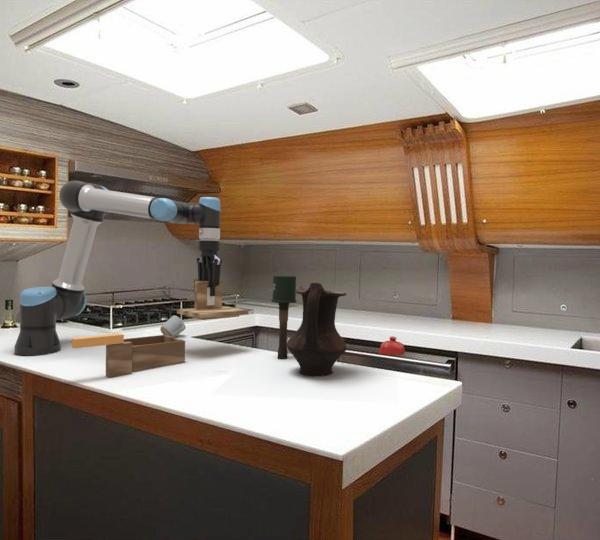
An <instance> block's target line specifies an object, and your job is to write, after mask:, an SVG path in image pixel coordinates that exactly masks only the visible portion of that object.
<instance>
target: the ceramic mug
mask: <svg viewBox="0 0 600 540" xmlns="http://www.w3.org/2000/svg"><path fill="white" fill-rule="evenodd" d="M186 328H187V327H186V324H185V322H184V321H183V320H182V319H181V318H180V317H179V316H177V315H172V316H170V317H169V319H167V320H166V321H165V322H164V323H163V324H162V325H161V326H160V332H161V333H162V334H161V335H167V336H171V337H174V338H177V336H178V335H180V334H181V333H182V332H184V331H185V330H186Z"/></svg>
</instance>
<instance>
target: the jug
mask: <svg viewBox="0 0 600 540" xmlns="http://www.w3.org/2000/svg"><path fill="white" fill-rule="evenodd" d="M295 292H296V294H299V295H301V298H302V320H301V324H300V325H299V328H297V330H296V331H295V332H294V333H293V334H292V336H290V338H289V340H287V351H288V352H290V353H291V355H292V356H293V358H294V359H295V360H296V362H297V363H298V366H300V368H299V369H300V370H299V371H298V373H299V374H300V375H302V376H304V377H305V376H306V377H310V378H316V377H317V378H319V377H320V378H321V377H329V376H331V375H332V374H333V373H334V372H333V366H334V365H335V363H336V362H337V361H338V360H339V358H340V357H341V356H343V354H344V353H346V351H347V344H346V342H345V341H344V338H343V337H342V336H341V335H340V333H339V332H338V330H337V328H336V322H335V321H336V313H337V312H336V311H337V306H338V303H339V302H338V301H339V298H340V297H344V296H347V292H343V291H342V292H340V291H331V290H325V288H324V286H323V285H322V284H321V282H318V281H312V282H311V283H310V284H309V287H308V288H296V290H295Z"/></svg>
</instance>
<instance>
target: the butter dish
mask: <svg viewBox="0 0 600 540" xmlns="http://www.w3.org/2000/svg"><path fill="white" fill-rule="evenodd" d="M405 350H406V349H405V345H404V344H403V343H402V342H400V341H397V337H396V336H390V337H389V340H385V341H382V343H381V344H380V347H379V351H378V352H379V353H378V354H380V355H388V356H393V355H395V356H403V355H404V354H405V353H406V351H405Z"/></svg>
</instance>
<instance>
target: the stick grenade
mask: <svg viewBox="0 0 600 540" xmlns="http://www.w3.org/2000/svg"><path fill="white" fill-rule="evenodd" d="M296 286H297V277H296V275H287V274H281V275H279V274H275V275H273V276H272V299H271V300H270V302H271V303H274V304H275V303H277V304H278V321H279V328H278V329H279V333H278V347H277V348H278V350H277V358H278V359H277V360H287V358H288V359H289V357H288V348H287V342H288V321H289V307H290V304H294V303H295V304H296V303H297V300H296V299H297V298H296V295H297V293H296V292H295V290H296V289H297V287H296Z"/></svg>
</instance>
